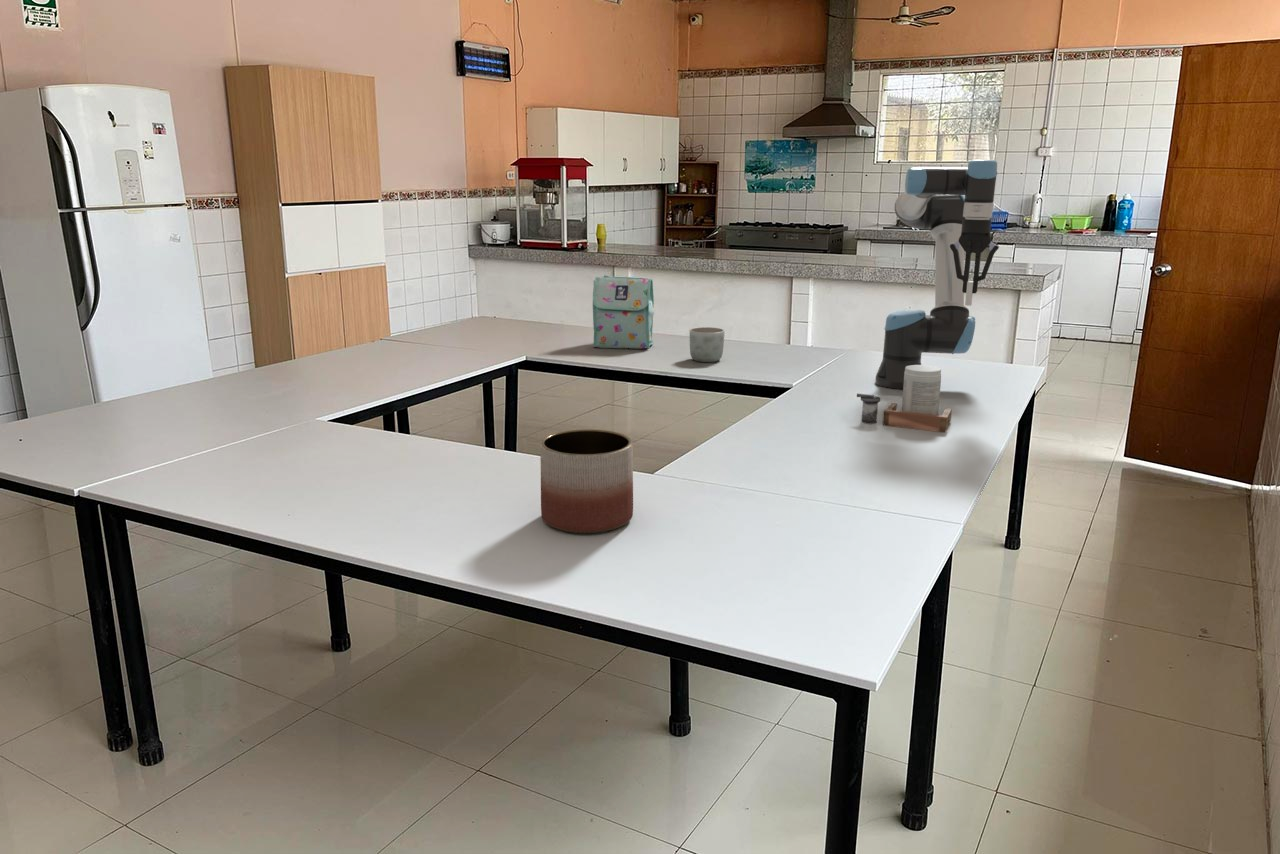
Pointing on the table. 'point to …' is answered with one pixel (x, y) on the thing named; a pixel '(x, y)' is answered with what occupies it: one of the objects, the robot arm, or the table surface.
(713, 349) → the planter
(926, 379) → the supplement tub
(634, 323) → the lunch bag
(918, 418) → the bay
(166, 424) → the table surface
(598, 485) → the planter
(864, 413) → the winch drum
